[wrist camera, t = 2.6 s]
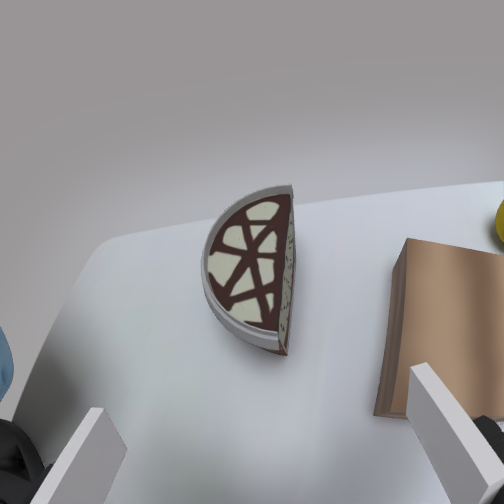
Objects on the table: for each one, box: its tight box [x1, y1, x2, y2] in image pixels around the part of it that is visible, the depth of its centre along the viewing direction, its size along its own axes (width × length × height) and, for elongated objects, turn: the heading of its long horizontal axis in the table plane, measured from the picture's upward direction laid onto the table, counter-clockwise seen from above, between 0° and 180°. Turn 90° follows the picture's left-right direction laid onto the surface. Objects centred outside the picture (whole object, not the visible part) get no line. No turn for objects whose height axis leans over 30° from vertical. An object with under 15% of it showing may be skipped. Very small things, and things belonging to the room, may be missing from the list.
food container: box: [201, 185, 296, 356], centre depth 26 cm, size 12×6×10 cm, turn 172°
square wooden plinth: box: [373, 238, 504, 422], centre depth 22 cm, size 14×14×6 cm
